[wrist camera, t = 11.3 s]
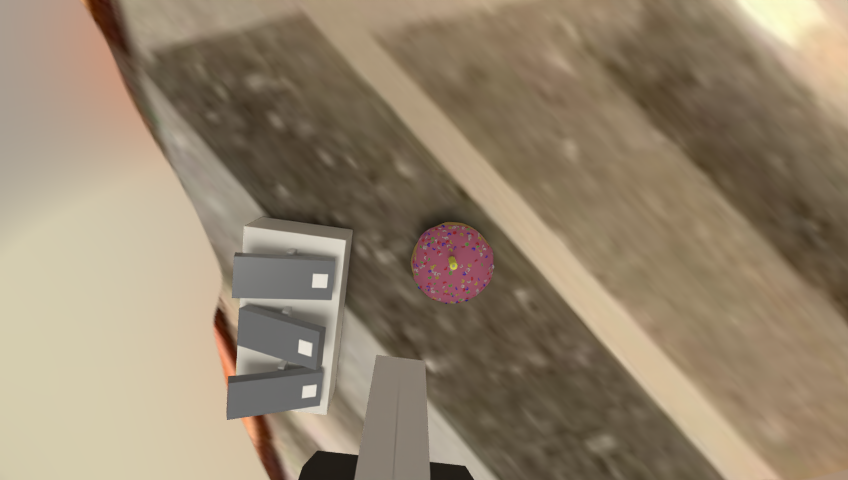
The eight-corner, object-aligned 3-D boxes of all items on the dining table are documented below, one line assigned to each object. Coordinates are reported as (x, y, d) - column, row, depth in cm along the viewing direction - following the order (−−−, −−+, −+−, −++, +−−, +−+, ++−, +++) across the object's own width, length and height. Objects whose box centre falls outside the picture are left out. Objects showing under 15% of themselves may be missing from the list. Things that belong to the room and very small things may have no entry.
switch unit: (259, 216, 46) (235, 228, 40) (353, 229, 47) (343, 243, 40) (249, 378, 51) (226, 411, 44) (334, 388, 51) (323, 423, 45)
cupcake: (401, 227, 47) (397, 257, 35) (474, 204, 46) (495, 226, 35) (424, 296, 49) (427, 346, 37) (495, 275, 48) (520, 318, 37)
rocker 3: (228, 376, 41) (228, 383, 40) (320, 366, 45) (323, 372, 44) (226, 412, 42) (227, 420, 41) (317, 399, 46) (320, 406, 45)
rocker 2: (247, 304, 43) (238, 308, 42) (326, 327, 41) (319, 332, 39) (245, 340, 44) (236, 345, 42) (322, 364, 41) (315, 370, 40)
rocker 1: (235, 252, 39) (233, 256, 38) (334, 257, 42) (335, 261, 40) (233, 293, 40) (231, 298, 38) (330, 295, 43) (331, 300, 41)
